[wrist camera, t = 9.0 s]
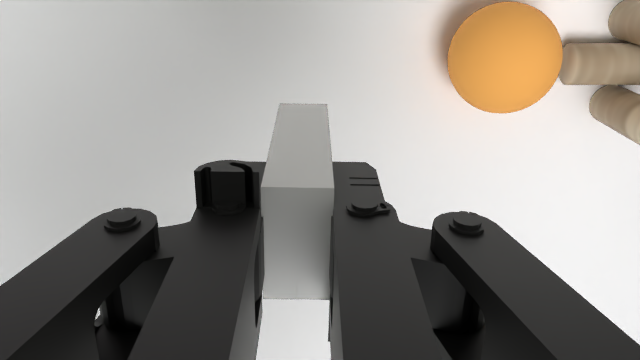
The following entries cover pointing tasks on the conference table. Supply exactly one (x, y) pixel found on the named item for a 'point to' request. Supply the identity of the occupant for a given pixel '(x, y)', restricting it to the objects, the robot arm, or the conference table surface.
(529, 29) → the ball
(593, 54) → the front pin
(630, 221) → the conference table surface
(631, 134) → the pin
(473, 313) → the robot arm
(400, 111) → the conference table surface
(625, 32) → the pin
